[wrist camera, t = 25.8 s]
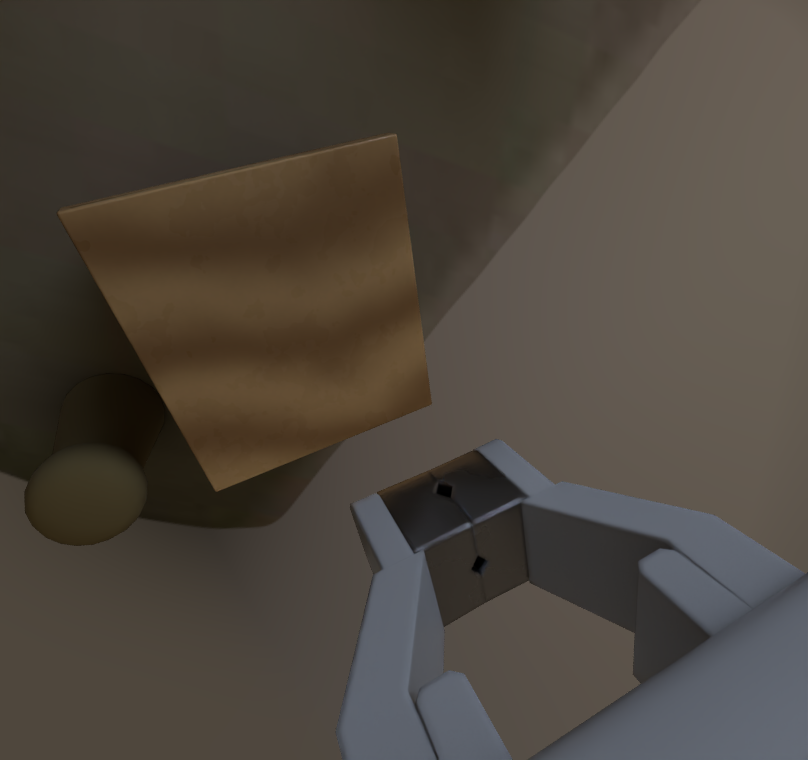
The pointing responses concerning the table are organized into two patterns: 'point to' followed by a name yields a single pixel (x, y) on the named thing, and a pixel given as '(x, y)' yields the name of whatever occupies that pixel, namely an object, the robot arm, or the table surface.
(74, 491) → the olive tapered rounded piece
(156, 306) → the bin lid
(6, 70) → the table surface
